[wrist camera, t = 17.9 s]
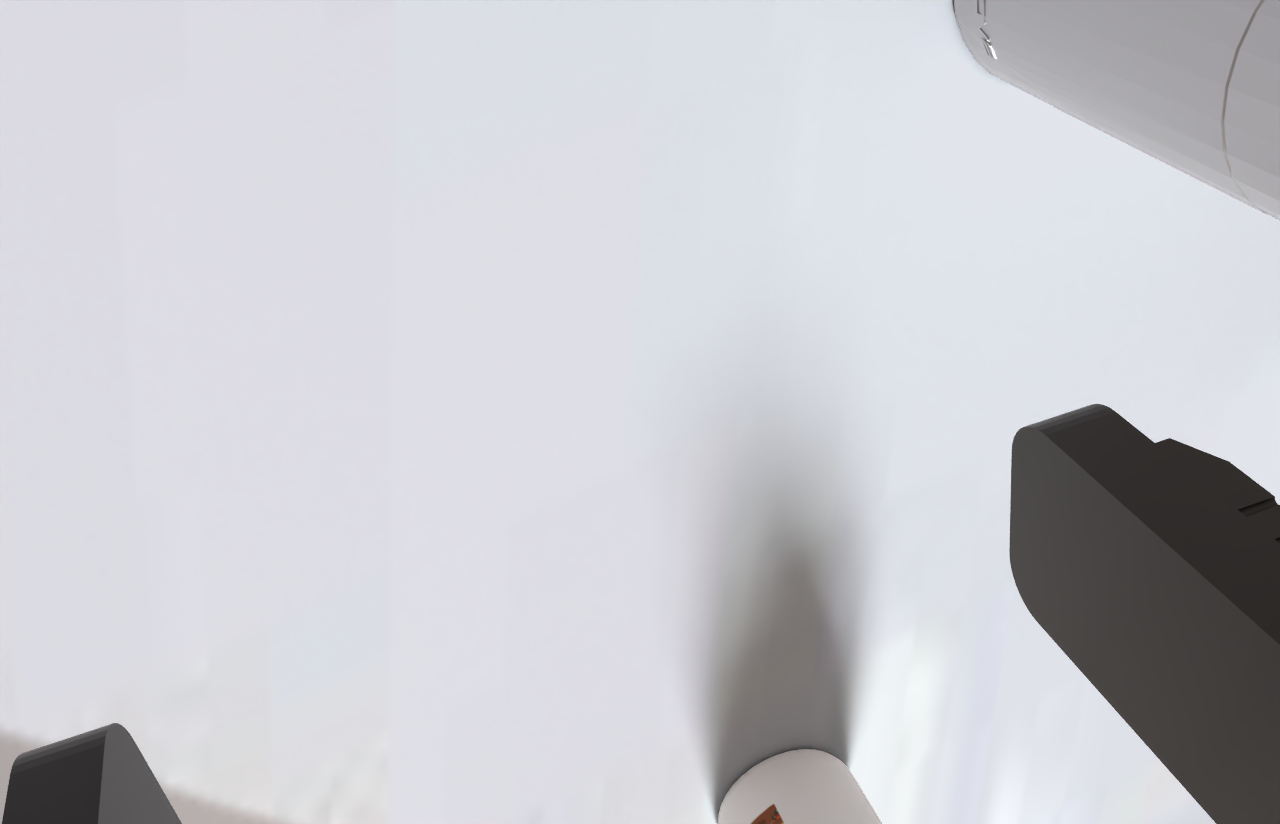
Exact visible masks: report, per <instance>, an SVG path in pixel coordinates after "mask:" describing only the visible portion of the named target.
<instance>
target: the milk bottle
mask: <svg viewBox="0 0 1280 824" xmlns="http://www.w3.org/2000/svg"><path fill="white" fill-rule="evenodd" d="M718 824H882V823H881V821H880V820H879V818H878V816H877V815H876V813H875V811H874V810H873V808H872V806H871V805H870V803H869V801H868V800H867V798H866V796H865V795H864V793H863V791H862V790H861V788H860V786H859V785H858V783H857V781H856V780H855V778H854V777H853V775H852V774H851V772H850V771H849V769H848V768H847V766H846V765H845V764H844V763H843V762H842V761H841V760H839V759H838V758H836V757H835V756H833V755H831V754H828V753H827V752H824V751H819V750H815V749H800V750H792V751H788V752H785V753H781V754H777V755H775V756H773V757H771V758H768V759H766V760H764V761H762V762H761V763H759V764H757V765H755V766H754V767H752V768H751V769H750V770H748V771H747V772H746V773H745V774H743V775H742V776H741V777H740V778H739V779H738V780H737V781H736V782H735V783H734V784H733V785H732V787H731V788H730V790H729V791H728V792H727V794H726V795H725V798H724V800H723V802H722V804H721V807H720V811H719V818H718Z"/></svg>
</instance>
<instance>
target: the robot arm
mask: <svg viewBox="0 0 1280 824" xmlns="http://www.w3.org/2000/svg"><path fill="white" fill-rule="evenodd" d="M954 7H955V16H956V20H957V23H958V26H959V29H960V32H961V35H962V38H963V41H964V42H965V44H966V46H967V47H968V49H969V51H970V52H971V54H972V55H973V57H974V59H975V60H976V61H977V62H978V63H979V64H980V65H982V66H983V67H984V68H985V69H986V70H987V71H988V72H989V73H990V74H992V75H994V76H996V77H998V78H1000V79H1002V80H1004V81H1005V82H1007V83H1009V84H1011V85H1013V86H1015V87H1017V88H1019V89H1021V90H1023V91H1025V92H1027V93H1029V94H1031V95H1033V96H1035V97H1037V98H1038V99H1040V100H1042V101H1044V102H1046V103H1048V104H1050V105H1052V106H1054V107H1055V108H1057V109H1059V110H1061V111H1063V112H1065V113H1067V114H1069V115H1071V116H1073V117H1075V118H1077V119H1079V120H1081V121H1083V122H1085V123H1087V124H1089V125H1091V126H1092V127H1094V128H1096V129H1098V130H1100V131H1102V132H1104V133H1106V134H1108V135H1110V136H1112V137H1114V138H1116V139H1118V140H1120V141H1122V142H1124V143H1126V144H1128V145H1130V146H1132V147H1134V148H1136V149H1138V150H1140V151H1142V152H1144V153H1146V154H1148V155H1150V156H1152V157H1154V158H1156V159H1158V160H1160V161H1162V162H1164V163H1166V164H1168V165H1170V166H1172V167H1174V168H1176V169H1178V170H1180V171H1182V172H1184V173H1186V174H1188V175H1190V176H1192V177H1194V178H1196V179H1198V180H1200V181H1202V182H1204V183H1206V184H1208V185H1210V186H1212V187H1214V188H1216V189H1218V190H1220V191H1222V192H1224V193H1226V194H1228V195H1230V196H1232V197H1234V198H1236V199H1238V200H1240V201H1242V202H1244V203H1246V204H1247V205H1249V206H1251V207H1253V208H1255V209H1257V210H1259V211H1261V212H1263V213H1266V214H1268V215H1270V216H1272V217H1274V218H1276V219H1278V220H1280V0H954ZM1010 563H1011V568H1012V573H1013V577H1014V580H1015V583H1016V586H1017V588H1018V591H1019V593H1020V595H1021V597H1022V599H1023V601H1024V603H1025V605H1026V607H1027V608H1028V610H1029V611H1030V613H1031V614H1032V616H1033V617H1034V618H1035V620H1036V621H1037V622H1038V623H1039V624H1040V625H1041V627H1042V628H1043V629H1044V630H1045V631H1046V632H1047V633H1048V634H1049V636H1050V637H1051V638H1052V639H1053V640H1054V641H1055V642H1056V643H1057V645H1058V646H1059V647H1060V648H1061V649H1062V650H1063V651H1064V652H1065V654H1066V655H1067V656H1068V657H1069V658H1070V659H1071V660H1072V662H1073V663H1074V664H1075V665H1076V666H1077V667H1078V668H1079V669H1080V671H1081V672H1082V673H1083V674H1084V675H1085V676H1086V677H1087V678H1088V680H1089V681H1090V682H1091V683H1092V684H1093V685H1094V686H1095V687H1096V689H1097V690H1098V691H1099V692H1100V693H1101V694H1102V695H1103V696H1104V698H1105V699H1106V700H1107V701H1108V702H1109V703H1110V704H1111V705H1112V707H1113V708H1114V709H1115V710H1116V711H1117V712H1118V713H1119V714H1120V716H1121V717H1122V718H1123V719H1124V720H1125V721H1126V722H1127V723H1128V725H1129V726H1130V727H1131V728H1132V729H1133V730H1134V731H1135V732H1136V734H1137V735H1138V736H1139V737H1140V738H1141V739H1142V740H1143V741H1144V743H1145V744H1146V745H1147V746H1148V747H1149V748H1150V749H1151V750H1152V752H1153V753H1154V754H1155V755H1156V756H1157V757H1158V758H1159V759H1160V761H1161V762H1162V763H1163V764H1164V765H1165V766H1166V767H1167V768H1168V770H1169V771H1170V772H1171V773H1172V774H1173V775H1174V776H1175V777H1176V779H1177V780H1178V781H1179V782H1180V783H1181V784H1182V785H1183V786H1184V788H1185V789H1186V790H1187V791H1188V792H1189V793H1190V794H1191V795H1192V797H1193V798H1194V799H1195V800H1196V801H1197V802H1198V803H1199V804H1200V806H1201V807H1202V808H1203V809H1204V810H1205V811H1206V812H1207V813H1208V815H1209V816H1210V817H1211V818H1212V819H1213V820H1214V821H1215V822H1216V824H1280V505H1278V504H1277V503H1276V501H1275V496H1273V495H1272V494H1271V493H1269V492H1268V491H1267V490H1265V489H1264V488H1263V487H1261V486H1260V485H1259V484H1257V483H1256V482H1255V481H1254V480H1252V479H1251V478H1250V477H1248V476H1247V475H1246V474H1244V473H1243V472H1242V471H1240V470H1239V469H1238V468H1236V467H1235V466H1234V465H1233V464H1231V463H1230V462H1228V461H1226V460H1223V459H1221V458H1218V457H1216V456H1213V455H1211V454H1208V453H1206V452H1203V451H1201V450H1198V449H1195V448H1193V447H1190V446H1188V445H1185V444H1183V443H1180V442H1178V441H1175V440H1173V439H1170V438H1169V439H1166V440H1163V441H1160V442H1157V443H1154V442H1153V441H1151V440H1150V439H1149V438H1148V437H1146V436H1145V435H1144V434H1143V433H1141V432H1140V431H1139V430H1138V429H1136V428H1135V427H1134V426H1133V425H1131V424H1130V423H1129V422H1128V421H1126V420H1125V419H1124V418H1123V417H1121V416H1120V415H1119V414H1118V413H1116V412H1115V411H1114V410H1112V409H1111V408H1109V407H1107V406H1104V405H1101V404H1093V405H1089V406H1086V407H1083V408H1080V409H1077V410H1074V411H1071V412H1068V413H1065V414H1062V415H1059V416H1056V417H1053V418H1050V419H1047V420H1044V421H1041V422H1038V423H1035V424H1032V425H1029V426H1026V427H1023V428H1021V429H1020V430H1019V431H1018V432H1017V433H1016V435H1015V437H1014V440H1013V444H1012V468H1011V513H1010ZM2 824H182V823H181V821H180V820H179V818H178V817H177V814H176V813H175V811H174V809H173V807H172V806H171V804H170V802H169V801H168V799H167V797H166V795H165V794H164V792H163V790H162V788H161V787H160V785H159V783H158V781H157V780H156V778H155V776H154V775H153V773H152V771H151V769H150V768H149V766H148V764H147V762H146V761H145V759H144V757H143V755H142V754H141V752H140V750H139V749H138V747H137V745H136V743H135V742H134V740H133V738H132V737H131V735H130V734H129V732H128V731H127V730H126V729H125V728H124V727H123V726H122V725H120V724H118V723H113V724H110V725H107V726H104V727H101V728H98V729H95V730H92V731H89V732H86V733H83V734H80V735H77V736H74V737H71V738H68V739H65V740H62V741H59V742H56V743H53V744H50V745H46V746H43V747H40V748H37V749H34V750H31V751H28V752H25V753H22V754H21V755H19V756H18V757H17V758H16V760H15V762H14V764H13V766H12V770H11V774H10V780H9V785H8V791H7V798H6V803H5V809H4V815H3V821H2Z"/></svg>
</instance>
